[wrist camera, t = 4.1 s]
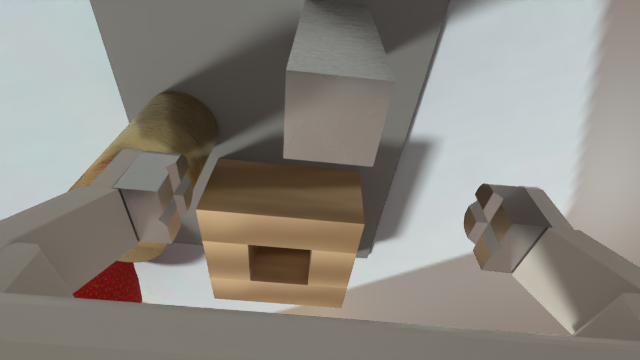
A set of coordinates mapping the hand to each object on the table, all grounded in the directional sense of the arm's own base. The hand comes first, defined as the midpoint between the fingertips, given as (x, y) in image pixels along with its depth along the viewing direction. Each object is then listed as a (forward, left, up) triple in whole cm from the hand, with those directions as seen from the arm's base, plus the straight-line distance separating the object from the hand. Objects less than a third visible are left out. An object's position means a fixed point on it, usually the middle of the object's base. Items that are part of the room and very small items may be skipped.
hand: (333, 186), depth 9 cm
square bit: (-1, 0, -11) cm, 11 cm away
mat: (+7, -4, -12) cm, 14 cm away
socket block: (+13, -2, -11) cm, 18 cm away
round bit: (+6, -9, -11) cm, 16 cm away
